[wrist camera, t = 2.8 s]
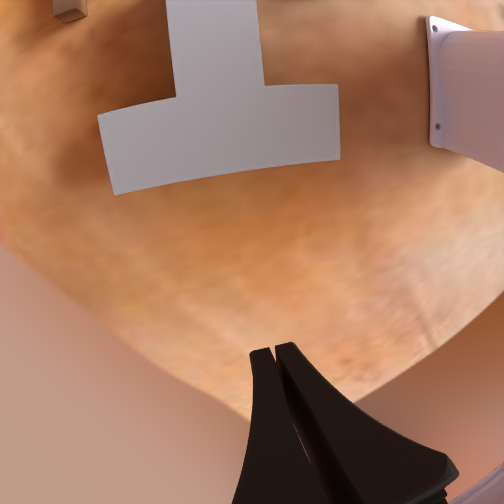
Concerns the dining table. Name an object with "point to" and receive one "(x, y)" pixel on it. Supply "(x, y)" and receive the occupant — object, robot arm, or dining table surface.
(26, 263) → the dining table surface
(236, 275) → the dining table surface
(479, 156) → the robot arm
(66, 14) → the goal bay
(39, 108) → the dining table surface
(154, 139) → the tee block
